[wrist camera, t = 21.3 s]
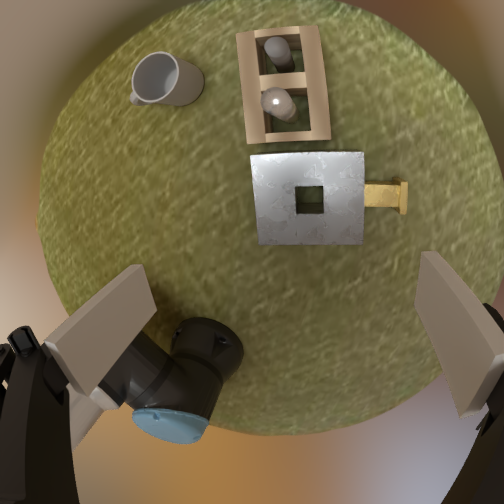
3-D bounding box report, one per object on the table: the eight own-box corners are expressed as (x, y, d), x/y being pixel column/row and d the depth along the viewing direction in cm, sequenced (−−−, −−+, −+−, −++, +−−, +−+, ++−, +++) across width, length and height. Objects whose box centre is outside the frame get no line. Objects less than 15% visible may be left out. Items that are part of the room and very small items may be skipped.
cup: (212, 92, 36) (187, 84, 28) (159, 122, 40) (126, 123, 32) (195, 56, 34) (167, 41, 26) (144, 87, 38) (111, 82, 30)
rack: (258, 142, 38) (241, 145, 29) (248, 48, 32) (228, 25, 23) (328, 139, 36) (333, 140, 27) (317, 42, 30) (317, 16, 21)
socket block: (266, 230, 43) (258, 245, 38) (259, 152, 39) (250, 155, 33) (356, 229, 40) (362, 244, 35) (356, 149, 35) (363, 152, 30)
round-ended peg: (282, 124, 36) (261, 116, 22) (280, 106, 35) (258, 88, 21) (300, 123, 36) (291, 114, 21) (298, 105, 35) (289, 85, 20)
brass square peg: (333, 205, 39) (335, 213, 35) (332, 175, 38) (335, 180, 34) (397, 206, 37) (406, 214, 33) (398, 177, 35) (407, 182, 31)
